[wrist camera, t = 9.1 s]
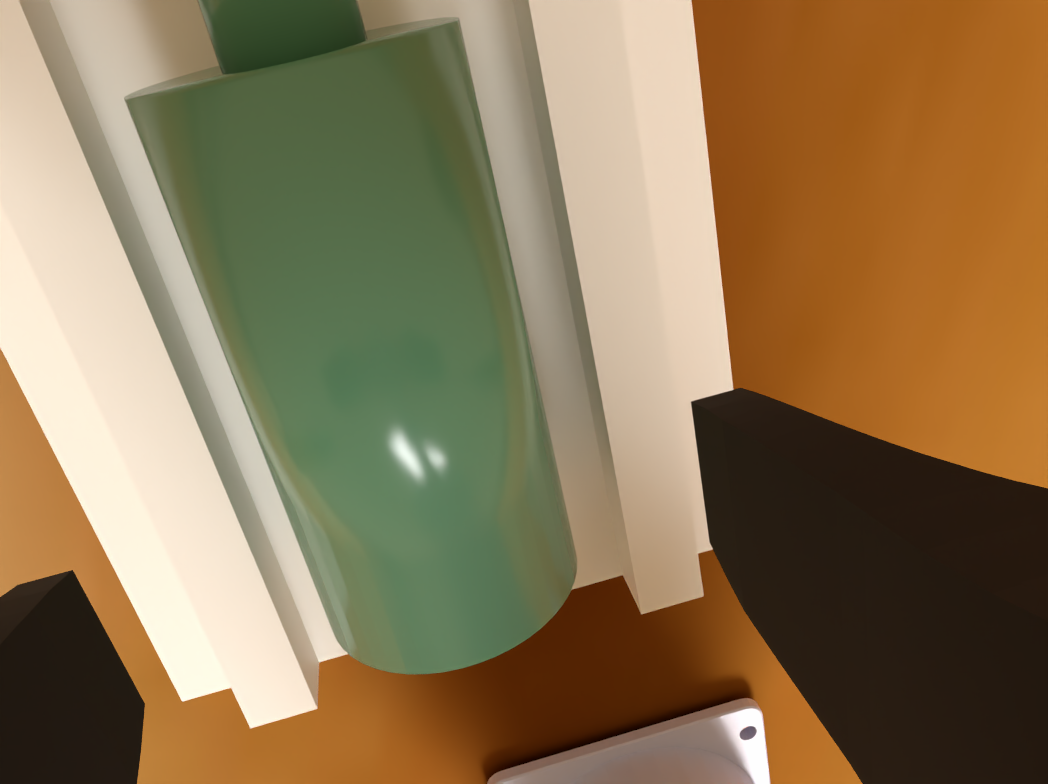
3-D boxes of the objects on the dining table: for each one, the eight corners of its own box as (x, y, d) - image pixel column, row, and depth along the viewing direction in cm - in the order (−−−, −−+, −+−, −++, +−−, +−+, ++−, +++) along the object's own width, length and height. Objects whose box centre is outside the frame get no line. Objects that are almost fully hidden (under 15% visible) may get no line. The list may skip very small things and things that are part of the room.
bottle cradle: (733, 516, 23) (775, 575, 20) (188, 671, 22) (171, 751, 19) (647, -225, 16) (698, -259, 13) (-171, -49, 15) (-264, -54, 12)
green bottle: (571, 489, 20) (585, 650, 15) (353, 526, 20) (305, 693, 16) (415, -243, 14) (363, -332, 9) (108, -166, 14) (-83, -215, 10)
